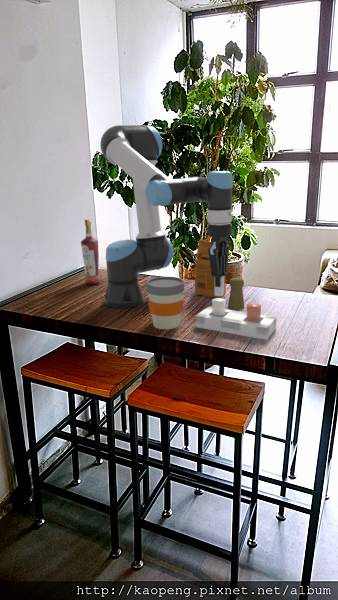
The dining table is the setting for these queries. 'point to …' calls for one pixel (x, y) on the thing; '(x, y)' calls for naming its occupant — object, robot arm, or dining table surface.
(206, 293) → the coffee package
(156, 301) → the reusable coffee cup
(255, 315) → the salmon rounded knob
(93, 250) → the liquor
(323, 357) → the dining table surface
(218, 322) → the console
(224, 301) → the white rounded piece
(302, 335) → the dining table surface
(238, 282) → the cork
